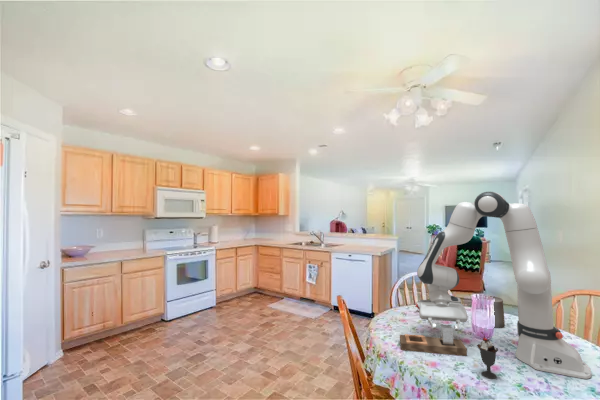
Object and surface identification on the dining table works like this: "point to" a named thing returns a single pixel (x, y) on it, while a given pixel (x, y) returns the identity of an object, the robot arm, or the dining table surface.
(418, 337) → the walnut rail
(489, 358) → the sundae
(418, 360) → the dining table surface
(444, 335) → the steel post
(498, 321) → the pillar candle
